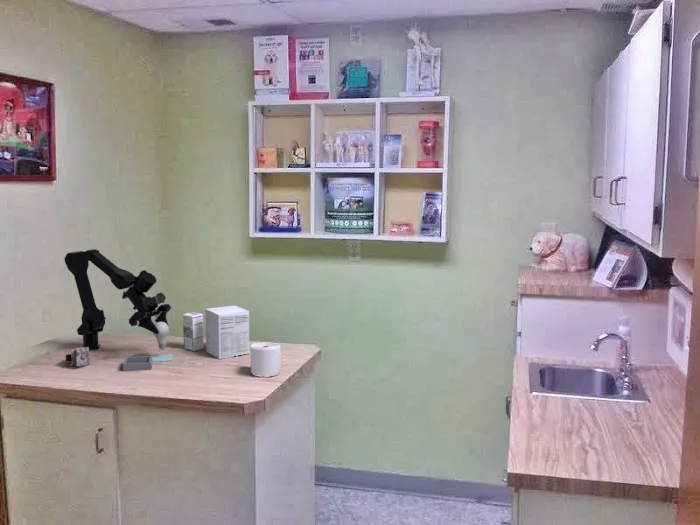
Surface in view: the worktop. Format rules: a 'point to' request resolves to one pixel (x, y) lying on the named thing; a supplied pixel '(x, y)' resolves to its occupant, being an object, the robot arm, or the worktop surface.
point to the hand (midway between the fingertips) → (163, 331)
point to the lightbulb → (162, 334)
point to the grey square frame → (137, 363)
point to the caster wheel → (79, 356)
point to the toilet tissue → (265, 358)
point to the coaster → (162, 358)
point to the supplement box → (227, 331)
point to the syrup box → (193, 331)
